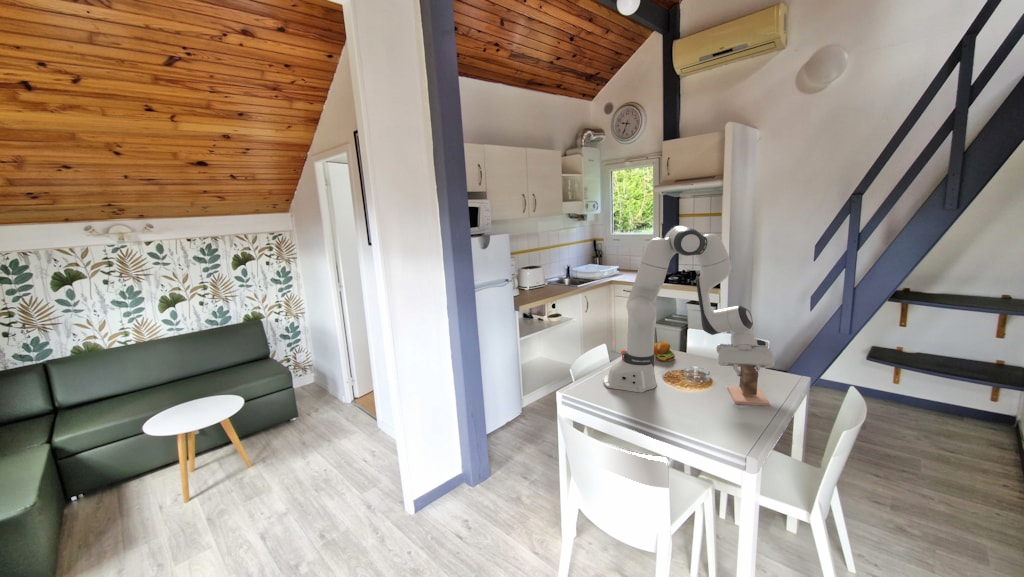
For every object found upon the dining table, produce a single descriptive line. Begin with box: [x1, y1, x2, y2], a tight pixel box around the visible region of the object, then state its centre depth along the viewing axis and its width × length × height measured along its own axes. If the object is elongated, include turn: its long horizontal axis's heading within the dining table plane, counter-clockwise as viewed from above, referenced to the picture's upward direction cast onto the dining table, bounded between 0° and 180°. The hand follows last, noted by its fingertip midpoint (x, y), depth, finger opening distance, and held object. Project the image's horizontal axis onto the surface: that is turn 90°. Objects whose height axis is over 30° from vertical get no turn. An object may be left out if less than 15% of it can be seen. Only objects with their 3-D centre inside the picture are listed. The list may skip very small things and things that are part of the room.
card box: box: [739, 366, 759, 395], centre depth 171 cm, size 4×7×9 cm, turn 165°
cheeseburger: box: [654, 340, 676, 363], centre depth 214 cm, size 10×11×10 cm
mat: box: [726, 385, 771, 407], centre depth 172 cm, size 12×14×1 cm
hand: (747, 376), depth 172 cm, fingers closed on card box, 4 cm apart
